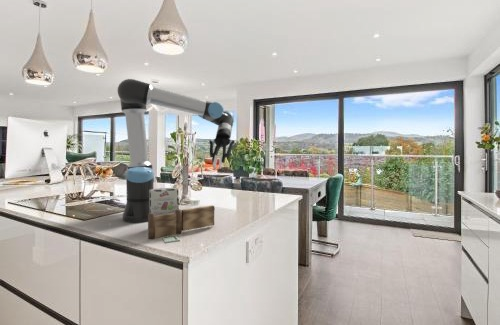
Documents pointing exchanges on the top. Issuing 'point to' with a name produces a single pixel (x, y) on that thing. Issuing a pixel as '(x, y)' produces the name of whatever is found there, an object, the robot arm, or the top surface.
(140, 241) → the top surface
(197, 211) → the fence gate
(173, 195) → the candy bar box
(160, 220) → the fence base
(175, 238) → the card
